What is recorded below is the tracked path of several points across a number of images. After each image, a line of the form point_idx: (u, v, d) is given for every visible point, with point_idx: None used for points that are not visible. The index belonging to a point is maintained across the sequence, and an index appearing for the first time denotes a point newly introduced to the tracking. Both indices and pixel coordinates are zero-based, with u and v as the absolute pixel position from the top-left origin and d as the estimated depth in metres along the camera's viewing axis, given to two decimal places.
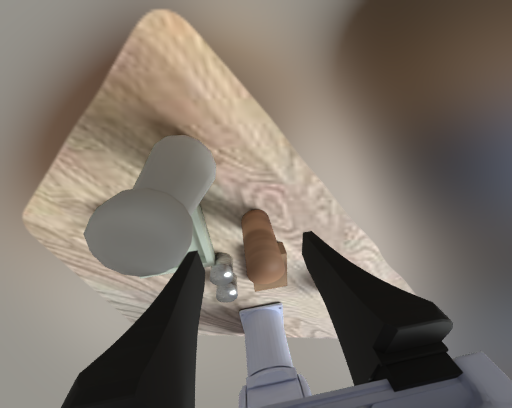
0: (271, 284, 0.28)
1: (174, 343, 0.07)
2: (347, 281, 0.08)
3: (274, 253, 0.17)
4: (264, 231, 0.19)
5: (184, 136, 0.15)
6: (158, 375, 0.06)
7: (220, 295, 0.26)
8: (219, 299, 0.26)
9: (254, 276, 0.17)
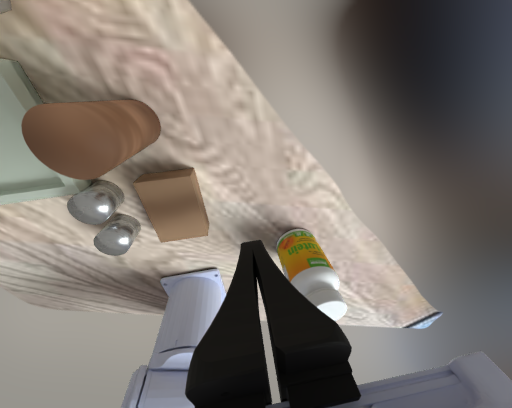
0: (182, 231, 0.19)
1: None
2: (269, 295, 0.08)
3: (81, 108, 0.09)
4: (105, 101, 0.11)
5: None
6: (263, 353, 0.06)
7: (101, 242, 0.18)
8: (101, 249, 0.18)
9: (49, 156, 0.09)
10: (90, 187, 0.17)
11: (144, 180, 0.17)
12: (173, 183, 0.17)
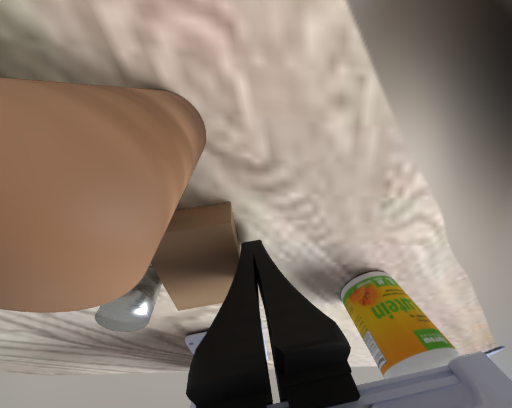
0: (211, 296, 0.13)
1: None
2: (269, 296, 0.08)
3: (44, 95, 0.02)
4: (121, 87, 0.05)
5: None
6: (264, 353, 0.06)
7: (107, 317, 0.11)
8: (107, 325, 0.12)
9: None
10: None
11: None
12: (203, 234, 0.10)
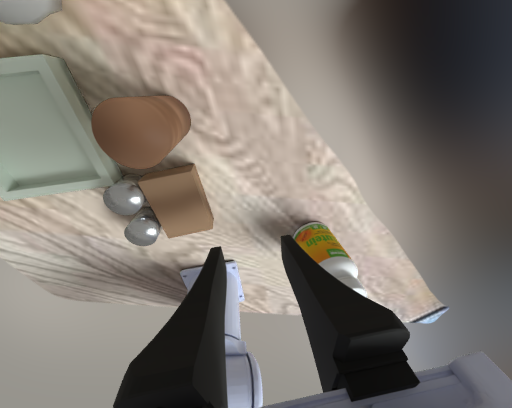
0: (188, 226, 0.20)
1: (212, 336, 0.08)
2: (314, 287, 0.08)
3: (143, 101, 0.10)
4: (152, 96, 0.12)
5: None
6: (204, 365, 0.06)
7: (131, 233, 0.19)
8: (131, 239, 0.19)
9: (112, 146, 0.10)
10: (123, 179, 0.17)
11: (148, 178, 0.17)
12: (176, 179, 0.17)
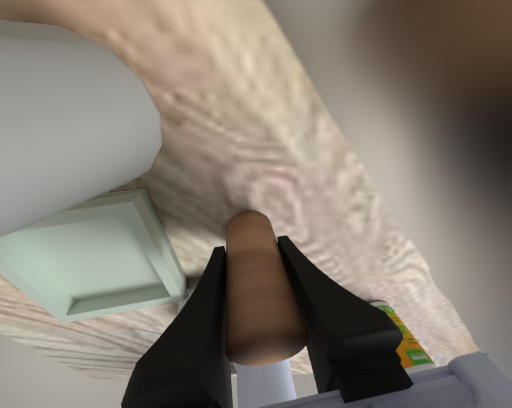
0: None
1: (217, 334, 0.08)
2: (309, 288, 0.08)
3: (285, 308, 0.08)
4: (262, 252, 0.10)
5: (62, 28, 0.06)
6: (210, 364, 0.06)
7: None
8: None
9: (242, 356, 0.08)
10: None
11: None
12: None
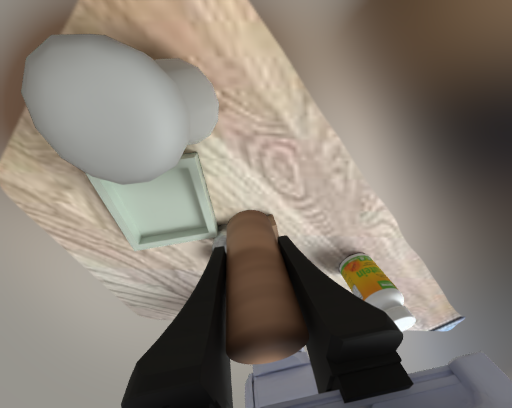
0: None
1: (217, 334, 0.08)
2: (309, 288, 0.08)
3: (285, 306, 0.08)
4: (262, 251, 0.10)
5: (180, 59, 0.13)
6: (211, 364, 0.06)
7: None
8: None
9: (242, 354, 0.08)
10: (223, 231, 0.22)
11: None
12: None
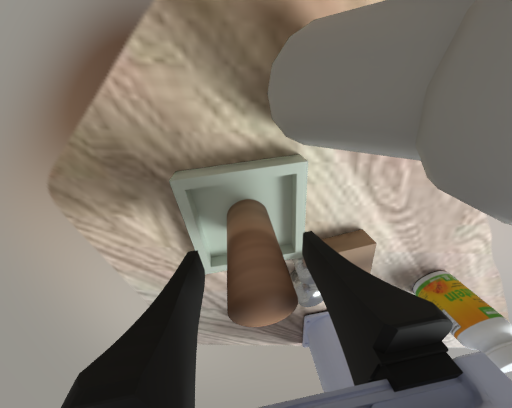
0: None
1: (175, 342, 0.07)
2: (347, 281, 0.08)
3: (278, 274, 0.09)
4: (259, 233, 0.12)
5: None
6: (158, 375, 0.06)
7: (305, 297, 0.19)
8: (301, 302, 0.20)
9: (242, 316, 0.09)
10: None
11: None
12: (360, 250, 0.18)
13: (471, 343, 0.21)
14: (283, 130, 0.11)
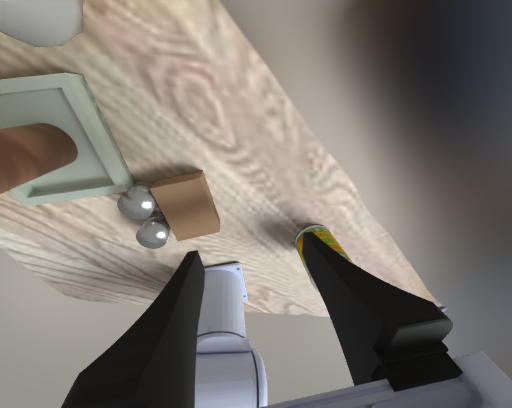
0: (196, 229, 0.21)
1: (175, 342, 0.07)
2: (347, 281, 0.08)
3: None
4: None
5: None
6: (158, 375, 0.06)
7: (142, 236, 0.20)
8: (142, 242, 0.20)
9: None
10: (135, 186, 0.18)
11: (159, 185, 0.18)
12: (185, 186, 0.18)
13: None
14: None
